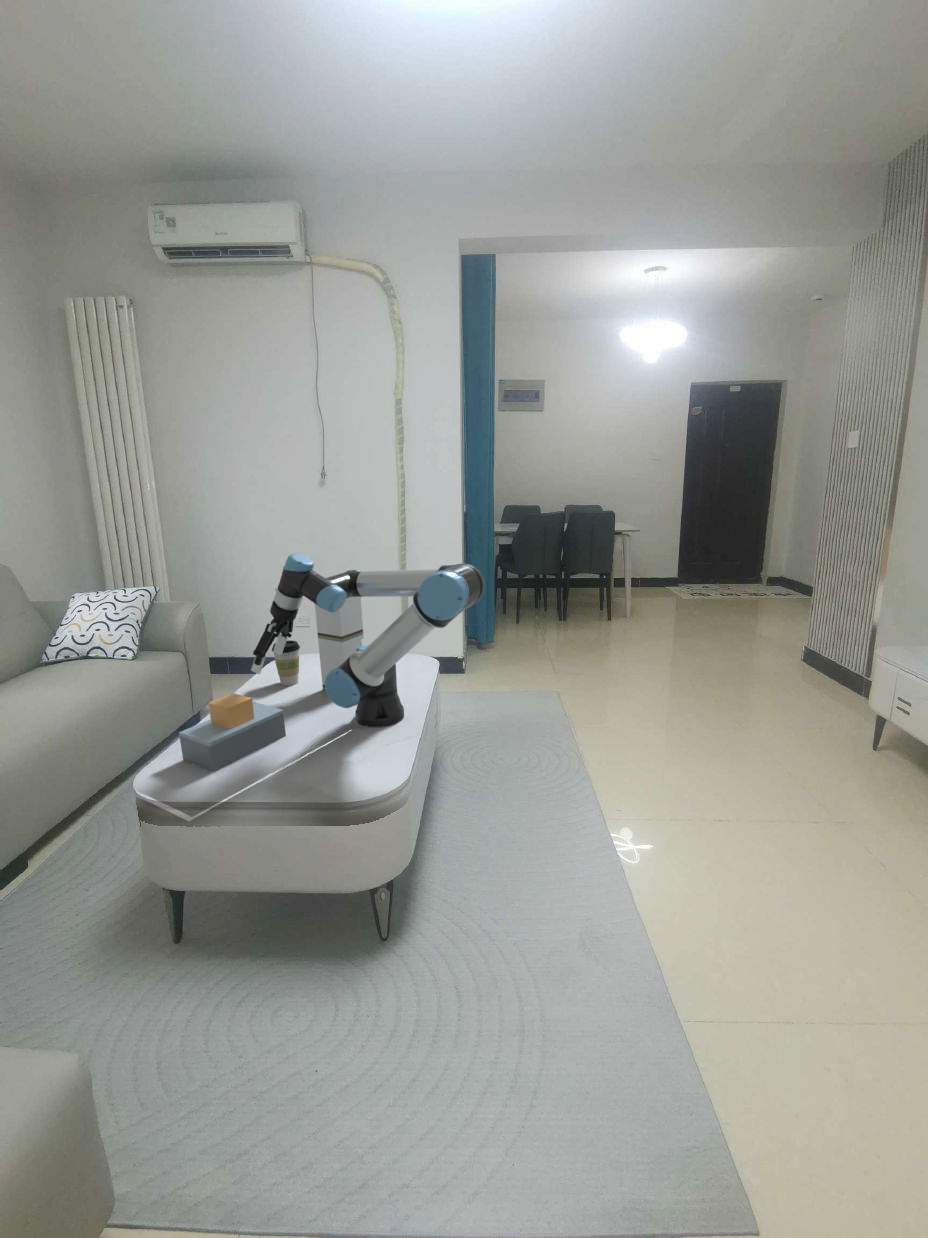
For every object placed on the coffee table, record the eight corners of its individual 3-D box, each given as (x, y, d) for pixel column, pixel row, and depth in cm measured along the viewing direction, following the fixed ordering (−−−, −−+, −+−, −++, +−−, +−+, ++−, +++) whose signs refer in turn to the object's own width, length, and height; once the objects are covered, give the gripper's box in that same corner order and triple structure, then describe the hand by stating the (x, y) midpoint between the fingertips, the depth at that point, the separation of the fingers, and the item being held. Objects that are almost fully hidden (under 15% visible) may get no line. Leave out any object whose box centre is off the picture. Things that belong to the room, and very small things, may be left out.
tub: (286, 738, 171) (283, 713, 169) (213, 775, 152) (209, 746, 150) (256, 729, 178) (253, 704, 176) (183, 763, 159) (179, 735, 157)
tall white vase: (367, 685, 212) (360, 590, 203) (346, 695, 203) (338, 596, 194) (343, 680, 218) (336, 587, 209) (322, 689, 209) (313, 593, 200)
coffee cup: (278, 689, 210) (273, 649, 207) (273, 681, 219) (269, 642, 215) (306, 684, 215) (302, 645, 211) (300, 676, 223) (296, 638, 220)
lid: (283, 716, 170) (280, 690, 168) (210, 750, 150) (205, 721, 148) (254, 707, 176) (251, 682, 174) (180, 739, 157) (175, 711, 155)
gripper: (293, 585, 182) (275, 640, 191) (252, 613, 159) (233, 674, 168) (315, 595, 182) (296, 651, 191) (277, 625, 159) (257, 686, 168)
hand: (266, 662), depth 179 cm, fingers open, 13 cm apart
